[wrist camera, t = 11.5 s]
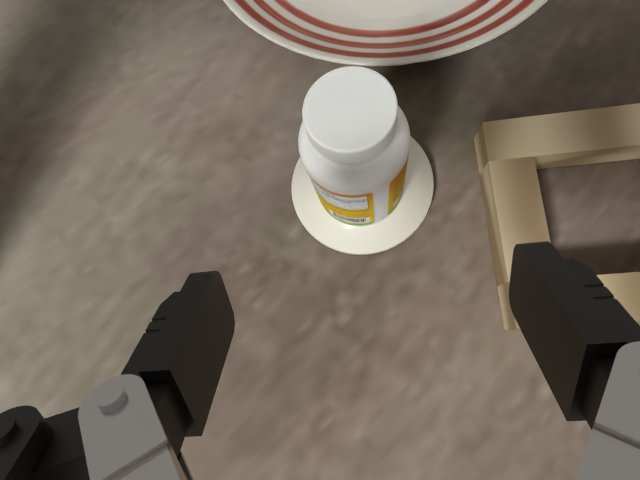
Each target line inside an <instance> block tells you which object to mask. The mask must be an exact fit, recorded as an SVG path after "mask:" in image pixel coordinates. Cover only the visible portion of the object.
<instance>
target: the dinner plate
mask: <svg viewBox="0 0 640 480" xmlns="http://www.w3.org/2000/svg"><path fill="white" fill-rule="evenodd" d="M223 1H224V3H225V4H226V5H227V6H228V7H229V9H230V10H231V11H232V12H233V13H234V14H235V15H236V16H237V17H238V18H239V19H240V20H242V21H243V22H244V23H245V24H246V25H248V26H249V27H250V28H252V29H253V30H254V31H256V32H257V33H259V34H260V35H262V36H264V37H265V38H267V39H269V40H270V41H272V42H274V43H276V44H278V45H281V46H283V47H285V48H287V49H290V50H292V51H294V52H297V53H300V54H303V55H306V56H309V57H313V58H316V59H321V60H325V61H330V62H335V63H342V64H349V65H361V66H393V65H405V64H411V63H418V62H425V61H431V60H435V59H439V58H443V57H447V56H450V55H453V54H457V53H460V52H463V51H466V50H469V49H471V48H474V47H476V46H479V45H481V44H484V43H486V42H488V41H490V40H492V39H494V38H496V37H498V36H500V35H502V34H504V33H505V32H507V31H509V30H511V29H512V28H514V27H516V26H517V25H519V24H520V23H521V22H523V21H524V20H526V19H527V18H528V17H530V16H531V15H532V14H533V13H535V12H536V11H537V10H538V9H539V8H540V7H542V6H543V5H544V4H545V3H546V2H547V1H548V0H223Z"/></svg>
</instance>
